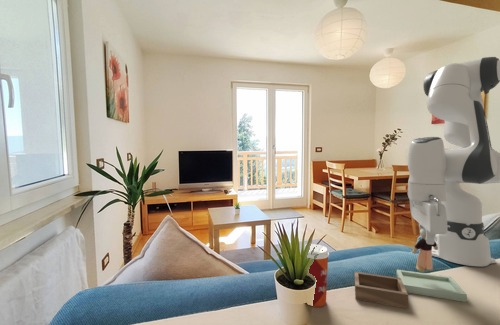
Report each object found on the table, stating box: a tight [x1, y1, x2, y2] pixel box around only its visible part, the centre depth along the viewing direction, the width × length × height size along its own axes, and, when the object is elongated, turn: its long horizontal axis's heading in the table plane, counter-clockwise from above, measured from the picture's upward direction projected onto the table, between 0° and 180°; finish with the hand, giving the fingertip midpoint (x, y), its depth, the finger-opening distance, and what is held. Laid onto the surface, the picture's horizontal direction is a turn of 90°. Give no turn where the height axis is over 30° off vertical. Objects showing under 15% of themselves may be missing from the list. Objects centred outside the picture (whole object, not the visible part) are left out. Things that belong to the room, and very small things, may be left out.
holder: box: [354, 271, 409, 310], centre depth 66 cm, size 9×12×4 cm
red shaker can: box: [304, 243, 330, 308], centre depth 64 cm, size 8×8×14 cm
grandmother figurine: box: [411, 228, 438, 273], centre depth 70 cm, size 8×4×13 cm, turn 107°
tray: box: [396, 269, 468, 303], centre depth 69 cm, size 10×14×2 cm
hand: (427, 241), depth 69 cm, fingers closed on grandmother figurine, 3 cm apart
